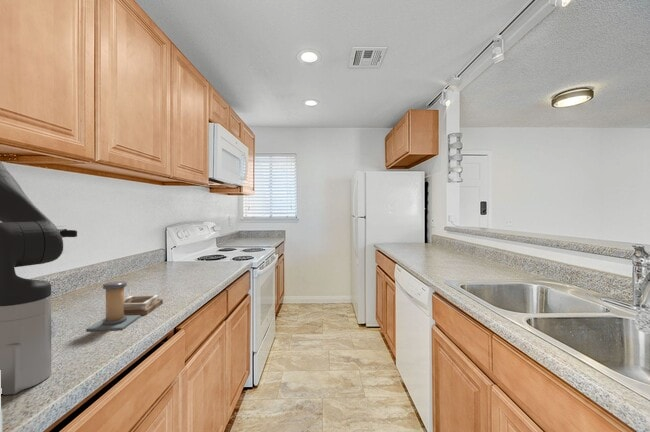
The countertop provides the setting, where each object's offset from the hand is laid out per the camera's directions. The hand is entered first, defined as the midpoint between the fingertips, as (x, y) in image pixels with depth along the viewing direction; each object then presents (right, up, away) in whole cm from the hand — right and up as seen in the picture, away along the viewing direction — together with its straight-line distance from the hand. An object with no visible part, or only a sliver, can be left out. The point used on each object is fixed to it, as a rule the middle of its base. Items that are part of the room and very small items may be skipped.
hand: (65, 234), depth 86 cm
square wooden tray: (+12, -28, +15) cm, 34 cm away
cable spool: (+14, -27, +2) cm, 31 cm away
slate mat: (+14, -28, +2) cm, 31 cm away
